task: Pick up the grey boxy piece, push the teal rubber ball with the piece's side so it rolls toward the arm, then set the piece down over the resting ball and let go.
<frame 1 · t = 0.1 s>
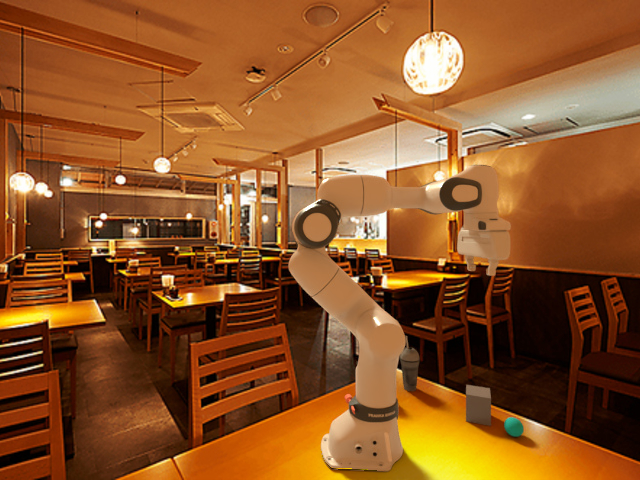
hand: (480, 273, 98), 48 cm above the table, tool pointing down, fingers open, 8 cm apart
grey boxy piece: (478, 417, 110), on the table
ball: (513, 426, 101), on the table
beverage cup: (409, 389, 131), on the table
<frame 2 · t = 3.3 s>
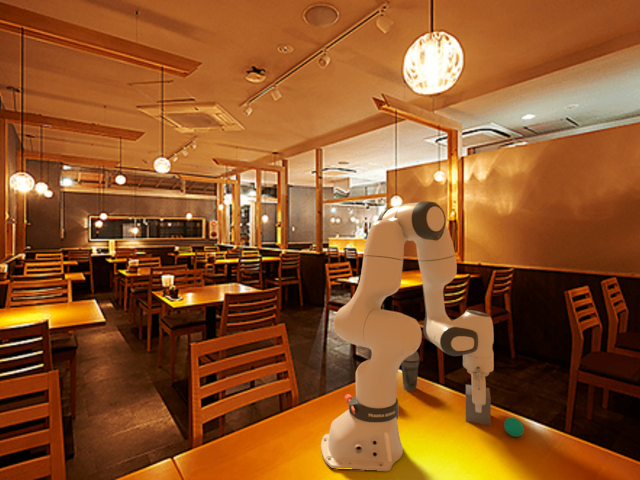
hand: (478, 404, 110), 4 cm above the table, tool pointing down, fingers closed on grey boxy piece, 7 cm apart
grey boxy piece: (477, 417, 111), on the table, touching gripper
everything else where it was.
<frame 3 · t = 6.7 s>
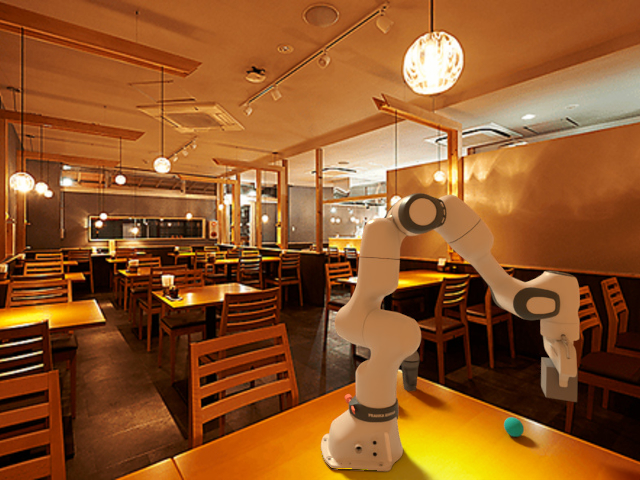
hand: (558, 379, 96), 18 cm above the table, tool pointing down, fingers closed on grey boxy piece, 7 cm apart
grey boxy piece: (558, 393, 96), point 14 cm above the table, touching gripper
everything else where it was.
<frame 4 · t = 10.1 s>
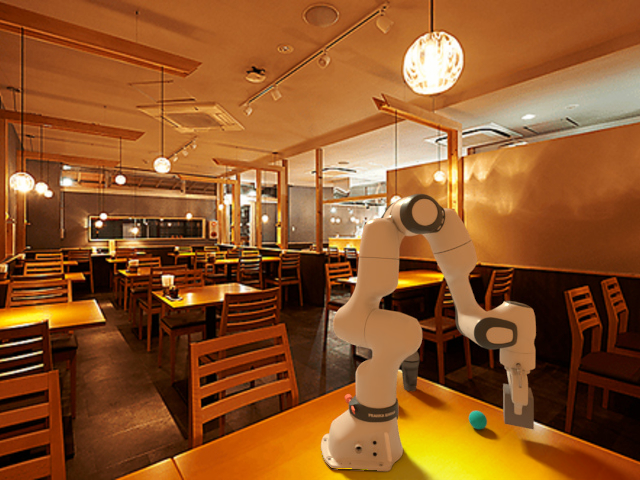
hand: (516, 406, 99), 9 cm above the table, tool pointing down, fingers closed on grey boxy piece, 7 cm apart
grey boxy piece: (517, 420, 99), point 5 cm above the table, touching gripper
ball: (477, 419, 105), on the table
everything else where it was.
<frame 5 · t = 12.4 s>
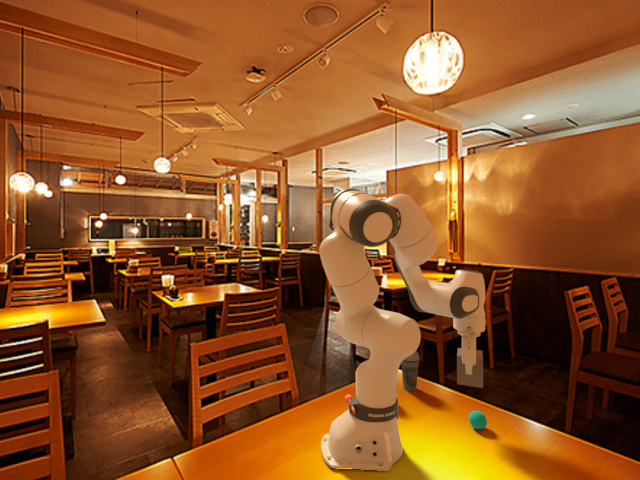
hand: (468, 368, 105), 18 cm above the table, tool pointing down, fingers closed on grey boxy piece, 7 cm apart
grey boxy piece: (470, 381, 105), point 14 cm above the table, touching gripper
everything else where it was.
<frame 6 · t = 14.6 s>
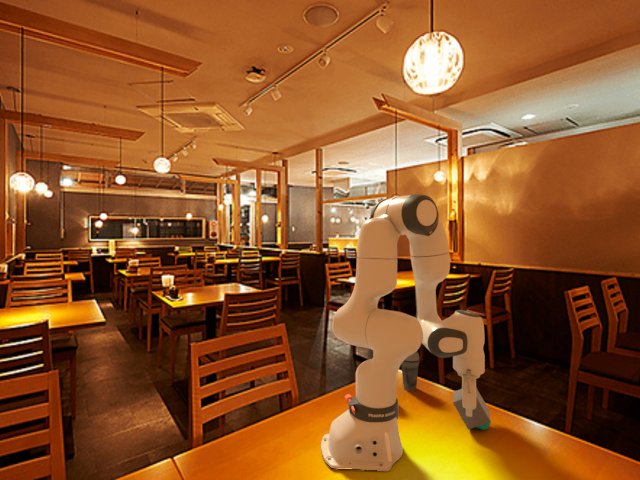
hand: (468, 408, 106), 5 cm above the table, tool pointing down, fingers closed on grey boxy piece, 7 cm apart
grey boxy piece: (478, 419, 105), point 2 cm above the table, tilted 30°, touching ball, gripper
ball: (481, 420, 105), on the table, touching grey boxy piece
everything else where it was.
when the fingers open (5 cm above the table, at t = 15.3 s): grey boxy piece drops 2 cm, on the table.
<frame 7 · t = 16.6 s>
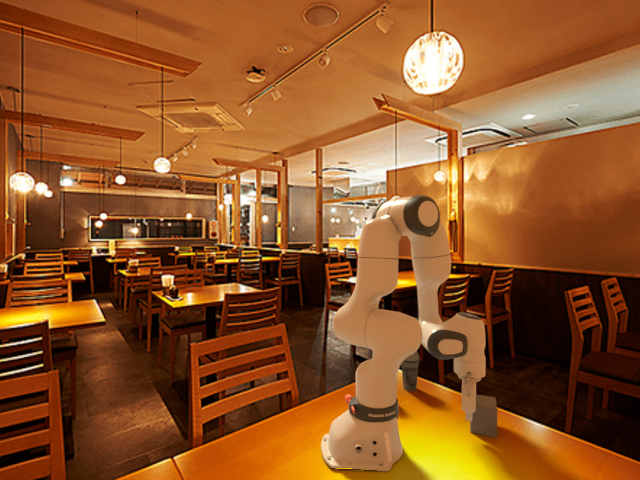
hand: (469, 411, 105), 5 cm above the table, tool pointing down, fingers open, 8 cm apart
grey boxy piece: (483, 428, 104), on the table, touching gripper
ball: (482, 420, 104), on the table
everything else where it was.
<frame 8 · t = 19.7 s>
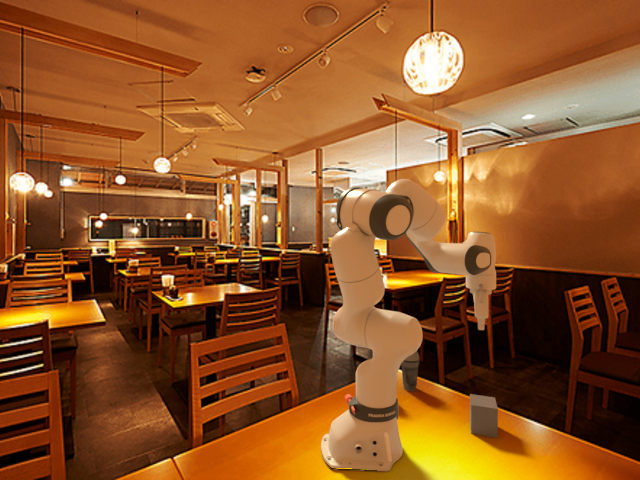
hand: (480, 325, 111), 29 cm above the table, tool pointing down, fingers open, 8 cm apart
grey boxy piece: (483, 429, 104), on the table
everything else where it was.
at the end: ball 0.4 cm from the grey boxy piece (horizontally); grey boxy piece on the table; ball moved 8.3 cm from its start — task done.
